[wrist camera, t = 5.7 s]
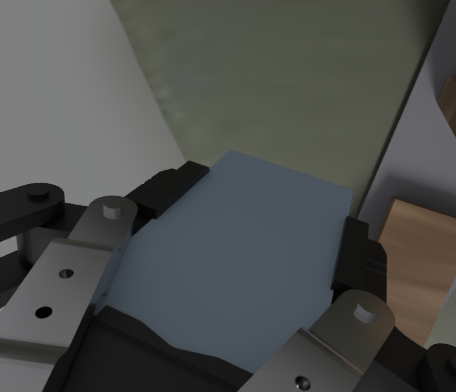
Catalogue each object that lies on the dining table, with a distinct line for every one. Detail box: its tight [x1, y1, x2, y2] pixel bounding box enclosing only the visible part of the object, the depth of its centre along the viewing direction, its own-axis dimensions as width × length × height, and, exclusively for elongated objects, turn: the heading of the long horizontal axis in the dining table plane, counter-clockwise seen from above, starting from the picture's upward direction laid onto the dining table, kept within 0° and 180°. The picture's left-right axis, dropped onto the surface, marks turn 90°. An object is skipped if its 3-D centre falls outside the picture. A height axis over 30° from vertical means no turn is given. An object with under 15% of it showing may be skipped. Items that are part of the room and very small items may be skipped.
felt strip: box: [357, 0, 456, 312], centre depth 24 cm, size 27×8×1 cm, turn 169°
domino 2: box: [375, 196, 456, 347], centre depth 26 cm, size 2×5×10 cm
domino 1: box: [93, 150, 354, 374], centre depth 11 cm, size 2×5×10 cm, turn 79°
